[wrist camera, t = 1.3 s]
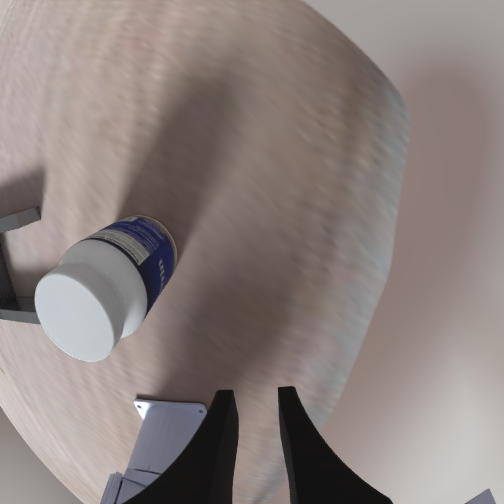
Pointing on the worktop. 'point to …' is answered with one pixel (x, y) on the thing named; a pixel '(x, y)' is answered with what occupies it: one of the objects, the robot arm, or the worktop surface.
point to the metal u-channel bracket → (3, 297)
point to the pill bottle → (105, 286)
